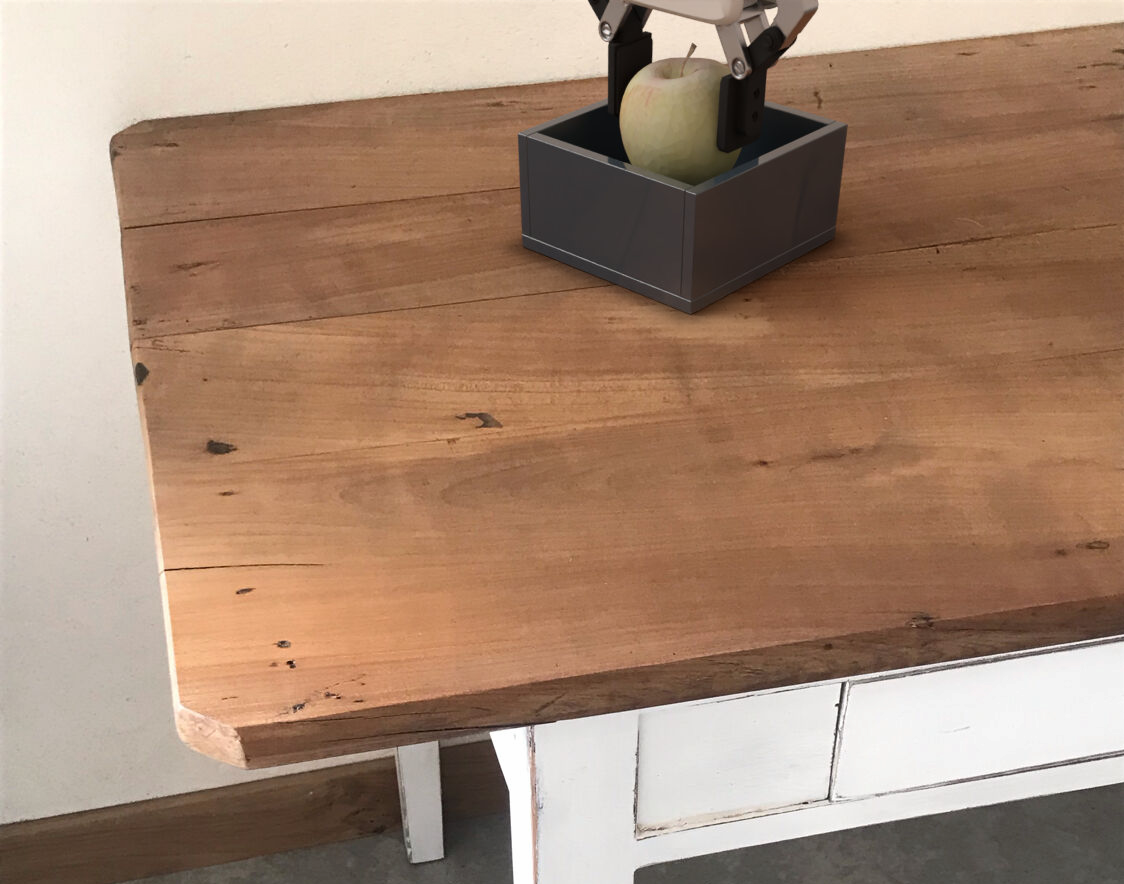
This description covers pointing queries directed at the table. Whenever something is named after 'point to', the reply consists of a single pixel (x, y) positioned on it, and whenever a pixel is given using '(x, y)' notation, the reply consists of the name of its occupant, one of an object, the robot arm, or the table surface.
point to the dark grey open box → (679, 205)
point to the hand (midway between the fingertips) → (682, 125)
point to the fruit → (676, 119)
